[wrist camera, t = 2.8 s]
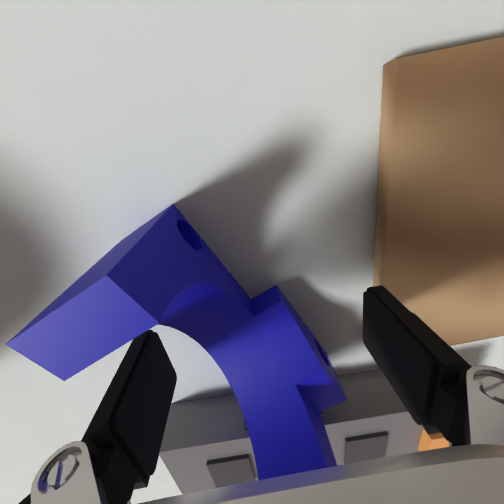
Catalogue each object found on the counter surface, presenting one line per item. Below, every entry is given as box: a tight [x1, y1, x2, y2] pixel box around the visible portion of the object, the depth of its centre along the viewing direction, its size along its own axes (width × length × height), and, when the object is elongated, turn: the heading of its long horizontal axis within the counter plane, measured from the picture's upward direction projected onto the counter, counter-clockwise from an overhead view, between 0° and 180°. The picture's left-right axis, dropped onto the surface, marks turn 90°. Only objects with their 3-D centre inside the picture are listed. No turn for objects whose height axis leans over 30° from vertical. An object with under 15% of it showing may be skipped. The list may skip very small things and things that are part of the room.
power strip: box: [159, 369, 449, 494], centre depth 15 cm, size 18×6×4 cm, turn 98°
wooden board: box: [373, 37, 504, 346], centre depth 11 cm, size 14×8×1 cm, turn 10°
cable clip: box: [6, 204, 347, 480], centre depth 10 cm, size 12×4×6 cm, turn 33°
